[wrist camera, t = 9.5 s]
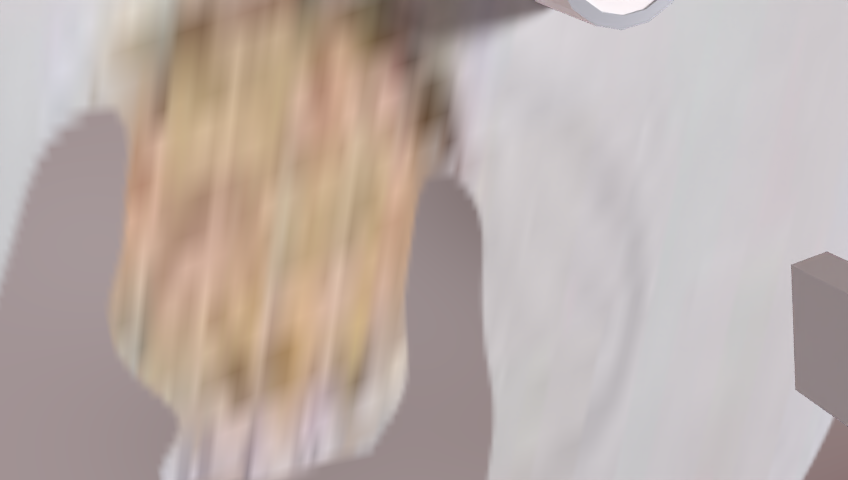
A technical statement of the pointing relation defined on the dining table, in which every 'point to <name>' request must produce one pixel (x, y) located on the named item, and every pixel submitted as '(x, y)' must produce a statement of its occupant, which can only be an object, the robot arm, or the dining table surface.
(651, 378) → the dining table surface
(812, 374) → the robot arm
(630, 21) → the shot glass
